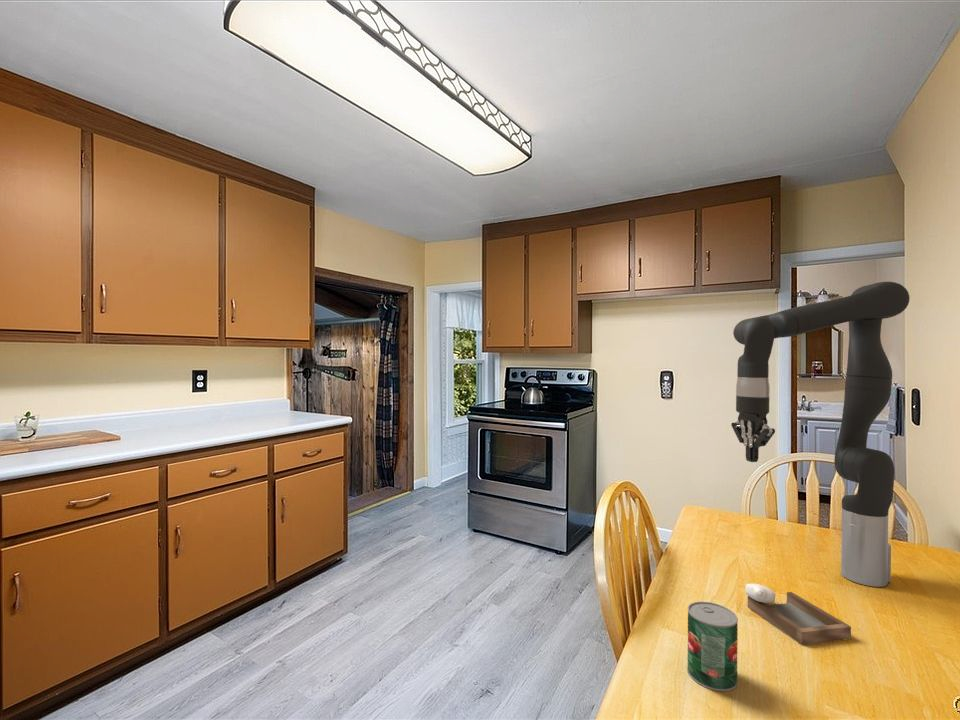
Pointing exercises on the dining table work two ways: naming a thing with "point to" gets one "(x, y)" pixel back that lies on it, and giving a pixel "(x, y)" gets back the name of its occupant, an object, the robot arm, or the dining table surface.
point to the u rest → (802, 620)
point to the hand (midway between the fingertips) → (751, 461)
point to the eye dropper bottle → (760, 593)
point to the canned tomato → (712, 646)
